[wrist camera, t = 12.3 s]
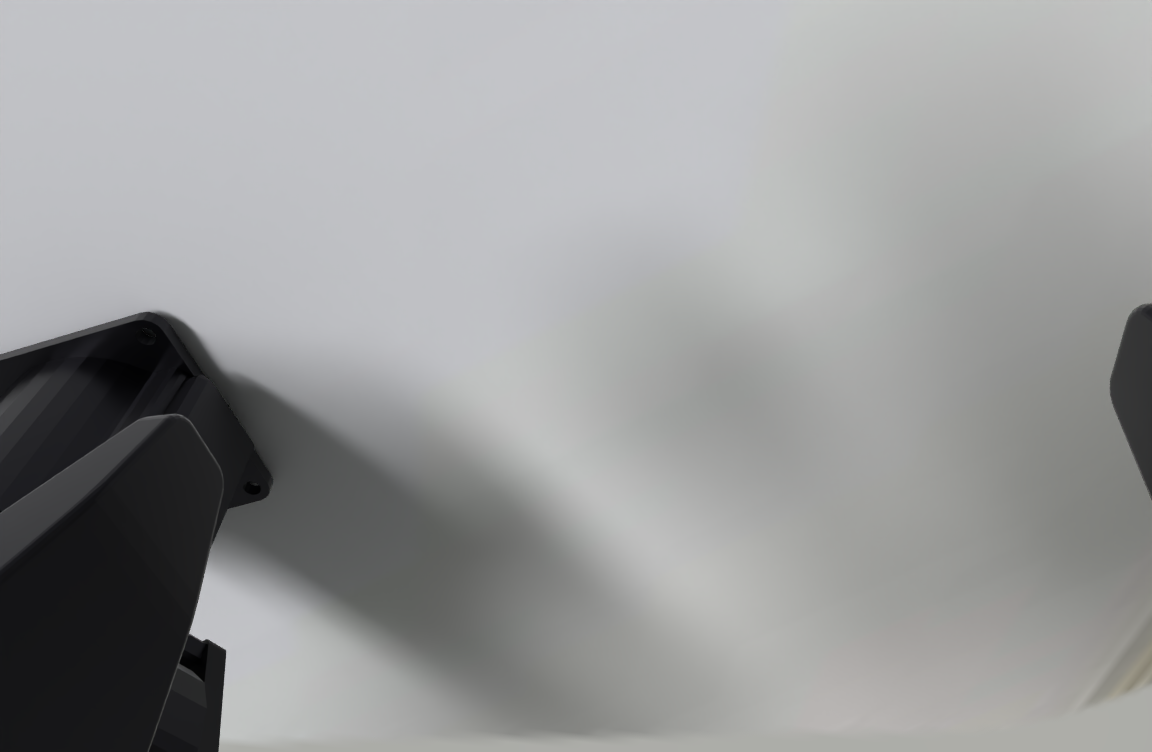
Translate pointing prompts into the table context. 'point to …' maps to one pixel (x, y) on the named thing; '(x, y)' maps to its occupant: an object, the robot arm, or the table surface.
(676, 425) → the table surface
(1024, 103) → the table surface
